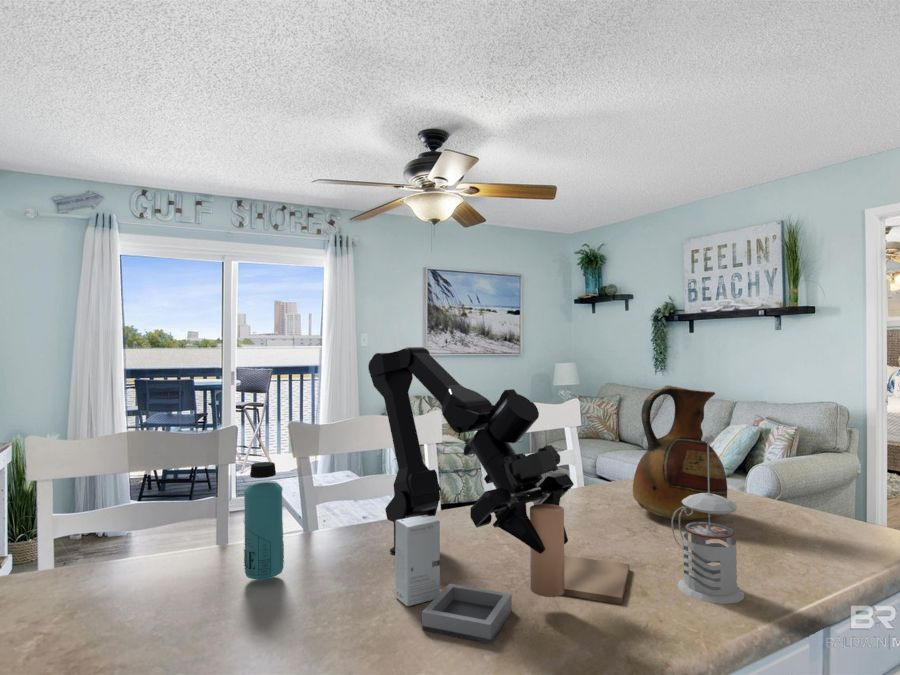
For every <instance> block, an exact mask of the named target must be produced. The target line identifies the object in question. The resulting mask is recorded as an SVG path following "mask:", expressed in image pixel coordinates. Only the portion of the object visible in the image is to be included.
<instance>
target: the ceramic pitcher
mask: <svg viewBox="0 0 900 675" xmlns="http://www.w3.org/2000/svg"><path fill="white" fill-rule="evenodd" d="M715 394H716V392H714V391H707V390H695V389H688V388H682V387H678V386H673V385H671V384H670V385H664V386H663V387H661V388H659V389H656V390H655V391H652V392H651V393H650V394H649V395H648V396H646V398H645V399H644V402H643V404H642V408H641V422H642V426H643V431H644V435H645V438H646V439H645V440H646V442H647V449H646V451H645V453H644V454H643V455H642V456H641V458H640V460H639V462H638V464H637V465H636V466H637V467H636V469H635V472H634V476H633V482H632V496H633V498H634V500H635V501H636V502H637V504H638V506H640V508H641V509H643V510H645V511H648V512H649V513H650V514H654V515H656V516H659V517H662V518H666V519H670V520H672V516H673V514H674V512H675V511H676V510H677V509H678V508H681V507H686V506H685V505H684V504H683V503H682V500H683V499H685V498H686V497H688V496H690V495H694V494H699V493H708V456H707V442H705V441H701V439H702V436H703V435H704V434H703V433H704V432H703V429H702V423H703V421H704V419H705V406H706V404H707V402H708V401H709V400H710V399H711V398H712V397H714V396H715ZM664 395H668V396H670V397H671V398H672V400H673V404H674V417H673V422H672V425H671V427H670V429H669V431H668V433H667V434H666V435H663V436H661V437H658V438H657V437H656V435H655V433H654V430H653V427H652V422H651V412H652V408H653V405H654V403H655V401H656V400H657V399H658V398H660V396H664ZM709 491H710V493H711V494H716V495H719V496H722V497H724V498H726V499H728V481H727V475H726V471H725V467H724V464H723V463H722V460H721V459H720V457H719V455H718V454H717V452H716V451H715V449H714V448H713V447H712V446H711V445H710V444H709ZM682 509H684V508H682ZM682 509H679V510H678V511H677V512H676V514H675V516H674V519H673V521H679V515H680V513H681V511H682ZM691 511H692V509H689V508H686V513H687V514H690V513H691ZM718 515H720V514H711V513H710V518H712V517H716V516H718ZM700 518H701V519H703V518H705V519H706V518H708V513H705V512H700V511H695V510H693V514H691V515H689V516H687V515H685V510H683V512H682V514H681V516H680V521H690V520H693V521H694V520H697V519H700Z"/></svg>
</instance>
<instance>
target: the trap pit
mask: <svg viewBox="0 0 900 675" xmlns="http://www.w3.org/2000/svg"><path fill="white" fill-rule="evenodd" d="M512 598H513V597H512V593H509V592H503V591H497V590H493V589H492V590H491V589H485V588H480V587H474V586H473V587H472V586H467V585H461V584H454V583H448V584H447V585H446V586H445V587H444V589H443V590H442V591H440V594H439V595H438V596H437V597H436V598H435V599H433V600H431V602H430V603H429V604H427V606H426V607H425V608H424V609H423V610H422V611H421V621H422V622H421V626H422V627H421V628H422V629H421V630H422V631H425V632H429V633H436V634H441V635H446V636H450V637H456V638H461V639H465V640H469V641H475V642H479V643H484V644H490V645H491V644H492V642H493V641H494V639H495V638H496V636H497V635H498V633H499V632H500V630H501V628H502V627H503V625H504V623H505V622H506V620H507V619H508V618H509V616H510V614H511V612H512V610H513V608H512V607H513V606H512V605H513V603H512V601H513V600H512Z"/></svg>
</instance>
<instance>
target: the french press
mask: <svg viewBox="0 0 900 675" xmlns="http://www.w3.org/2000/svg"><path fill="white" fill-rule="evenodd" d="M701 441H705V442H707V456H708V493H699V494H694V495H690V496H688V497H686V498H685V499H683V500H682V503H683V504H684V505H685V506H686V507H681V508H678V509H677V510H676V511H675V512H674V514H673V516H672V519H671V532H672V535H673V538H674V541H675V543H676V544H677V545H678V547H679V548H680V549H681V550H682V551H683V578H682V579H680V580H679V581H678V583H677V588H678V589H679V590H680V592H681V593H683V594H685V595H686V596H688V597H691V598H693V599H696V600H698V601H702V602H706V603H710V604H711V603H712V604H721V605H722V604H723V605H724V604H725V605H726V604H727V605H729V604H730V605H731V604H736V603H739V602H741V601H742V600H744V599H745V592H744V591H742V590H741V588H740V587H739V586H738V582H737V580H738V574H737V573H738V567H737V562H738V561H737V540H736V539H735V538H734V537H733V536H734V535H735V531H734V530H733V529H732V528H730V527H729V526H725V525H723V524H718V523H713V522H711V517H710V513H711V514H719V515H725V514H732V513H735V512H736V511H737V509H738V505H736V504H735V503H734V502H732V501H731V500H729V499H728V498H727V499H726V498H724V497H722V496H719V495H716V494H711V493H710V491H709V445H710V444H709V443H711V442H712V443H714V442H715V437H714V436H713V435H712V434H711V433H704V434H703V436H702V439H701ZM682 508H684V509H682ZM686 508H689V509H692V511H691V513H690V514H687V513H686ZM679 509H682V511H681V513H680V515H679V520H678V531H679V534H680V537H681V540H682V542H683V545H682V546H683V547H682V546H681V544H680V543H679V542H678V539H677V538H676V535H675V529H674V520H673V519H674V516H675V514H676V512H677V511H678V510H679ZM683 510H685V515H687V516H689V515H691V514H693V510H695V511H700V512H705V513H708V517H707V518H708V522H707V521H705V522H704V521H694V522H689V523H687V524H686V525H685V526H684V527H685V530H686V531H687V532H685V533H684V534H682V529H681V520H680V516H681V514H682V512H683ZM689 534H690V536H691V537H690V538H691V541H690V540H689ZM709 540H720V541H722V542H724V543H726V544H727V545H728V546H727V545H725V544H722V543H720V542H709V543H706V542H707V541H709ZM689 549H690V550H691V551H689ZM689 557H690V559H691V560H690V559H689ZM711 563H717V564H718V563H719V564H718V565H710V564H711ZM690 566H691V568H690Z"/></svg>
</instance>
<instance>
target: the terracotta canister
mask: <svg viewBox="0 0 900 675" xmlns="http://www.w3.org/2000/svg"><path fill="white" fill-rule="evenodd" d="M529 520H530V521H531V523H532V525H533V527H534V528H535V530H536V532H537V534H538V535H539V537H540V539H541V541H542V543H543V545H544V547H545V551H544V552H543V553H541V554H540V553H538V552H537V551H535V550H534V549H532V548H531V547H529V548H530V549H529V550H530V551H529V553H530V555H529V556H530V559H529V560H530V562H529V563H530V564H529V565H530V566H529V567H530V569H529V570H530V572H529V573H530V576H529V577H530V591H531V592H532V593H533V594H535V595H537V596H540V597H544V598H555V597H560V596H563V595H562V594H563V593H564V592H565V576H564V555H565V544H564V527H565V509H564V507H562V506H561V505H559V506H558V505H553V504H536V505H534V504H532V505H531V506H530V507H529Z"/></svg>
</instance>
